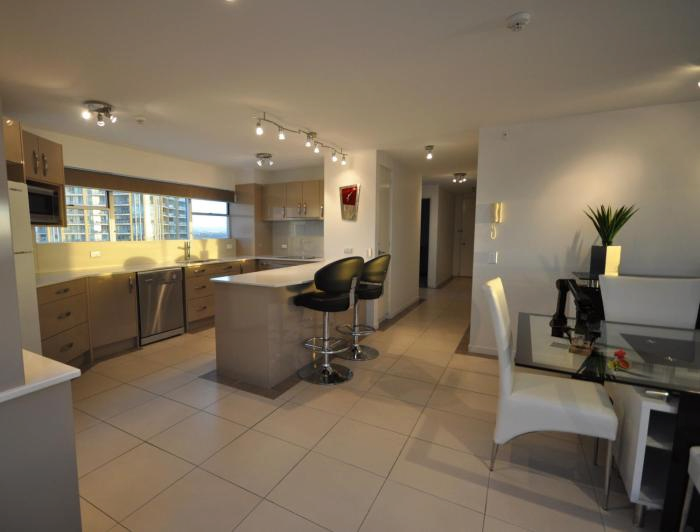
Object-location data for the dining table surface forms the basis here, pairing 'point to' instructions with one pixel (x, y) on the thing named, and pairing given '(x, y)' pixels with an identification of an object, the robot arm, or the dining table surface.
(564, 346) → the mat
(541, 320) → the dining table surface
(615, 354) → the bird rattle
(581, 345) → the peg
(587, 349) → the hole block
